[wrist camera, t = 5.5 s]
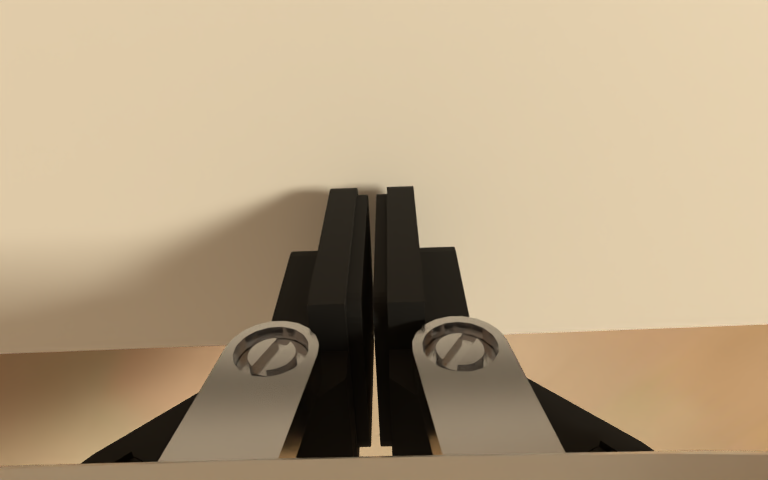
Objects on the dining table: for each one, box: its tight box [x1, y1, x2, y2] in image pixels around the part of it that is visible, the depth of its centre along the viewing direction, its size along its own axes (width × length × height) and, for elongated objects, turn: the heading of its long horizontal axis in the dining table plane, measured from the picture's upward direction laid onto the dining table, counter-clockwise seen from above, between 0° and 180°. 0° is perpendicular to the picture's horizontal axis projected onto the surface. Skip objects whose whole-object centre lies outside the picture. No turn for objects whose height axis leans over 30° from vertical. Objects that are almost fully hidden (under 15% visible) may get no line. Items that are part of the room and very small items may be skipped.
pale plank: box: [0, 0, 768, 354], centre depth 12 cm, size 9×24×2 cm, turn 92°
